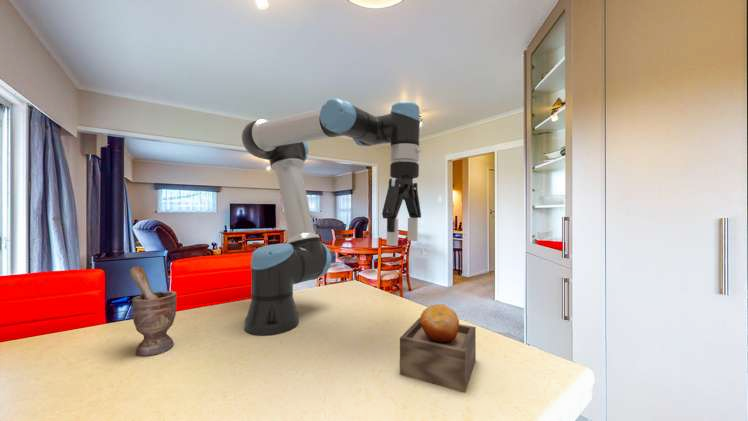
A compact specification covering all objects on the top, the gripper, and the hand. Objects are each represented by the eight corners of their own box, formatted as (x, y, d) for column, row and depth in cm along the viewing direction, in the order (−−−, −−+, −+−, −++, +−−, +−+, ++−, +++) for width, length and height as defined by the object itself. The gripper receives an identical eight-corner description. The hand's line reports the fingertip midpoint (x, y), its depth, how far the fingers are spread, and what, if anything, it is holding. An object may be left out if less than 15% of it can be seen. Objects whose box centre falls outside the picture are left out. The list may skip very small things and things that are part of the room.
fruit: (453, 322, 68) (456, 298, 64) (459, 354, 61) (463, 329, 57) (418, 321, 68) (419, 297, 64) (420, 352, 62) (421, 327, 58)
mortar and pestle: (108, 359, 66) (108, 270, 66) (136, 342, 74) (137, 264, 74) (161, 357, 66) (162, 270, 67) (183, 340, 75) (184, 263, 75)
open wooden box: (399, 374, 59) (399, 337, 59) (420, 348, 71) (419, 317, 71) (465, 392, 53) (465, 351, 53) (475, 360, 65) (475, 326, 65)
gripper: (398, 153, 64) (396, 249, 64) (432, 168, 86) (431, 239, 86) (368, 155, 67) (367, 246, 67) (409, 169, 89) (407, 238, 89)
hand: (403, 243), depth 77 cm, fingers open, 13 cm apart
